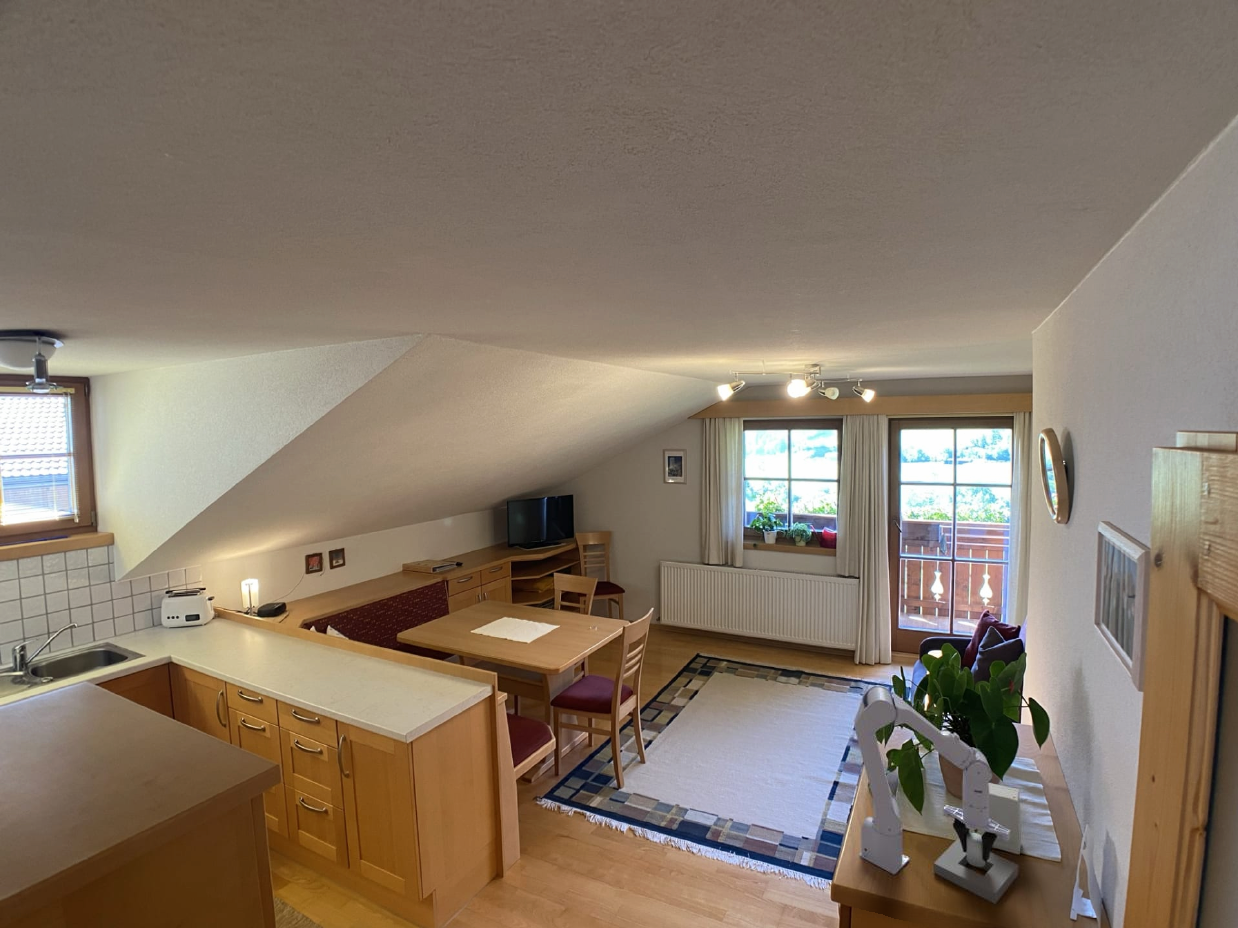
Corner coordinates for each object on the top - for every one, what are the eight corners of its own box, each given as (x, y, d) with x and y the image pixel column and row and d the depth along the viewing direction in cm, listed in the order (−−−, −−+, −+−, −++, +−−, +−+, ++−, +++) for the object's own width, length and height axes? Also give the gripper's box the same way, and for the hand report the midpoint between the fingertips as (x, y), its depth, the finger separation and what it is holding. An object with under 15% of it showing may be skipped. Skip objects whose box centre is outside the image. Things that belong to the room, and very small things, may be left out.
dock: (933, 872, 161) (933, 862, 161) (958, 846, 170) (958, 837, 169) (995, 903, 150) (995, 893, 150) (1018, 874, 159) (1018, 864, 159)
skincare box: (1021, 843, 170) (1021, 788, 169) (1019, 856, 165) (1019, 800, 164) (984, 832, 175) (984, 779, 174) (981, 844, 170) (981, 790, 169)
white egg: (964, 861, 160) (963, 838, 159) (970, 853, 162) (970, 830, 162) (981, 869, 157) (981, 845, 156) (987, 860, 159) (987, 837, 159)
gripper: (938, 796, 161) (938, 848, 162) (1003, 821, 150) (1003, 877, 151) (949, 784, 166) (949, 835, 167) (1013, 808, 155) (1013, 862, 156)
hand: (975, 854), depth 159 cm, fingers closed on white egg, 4 cm apart
